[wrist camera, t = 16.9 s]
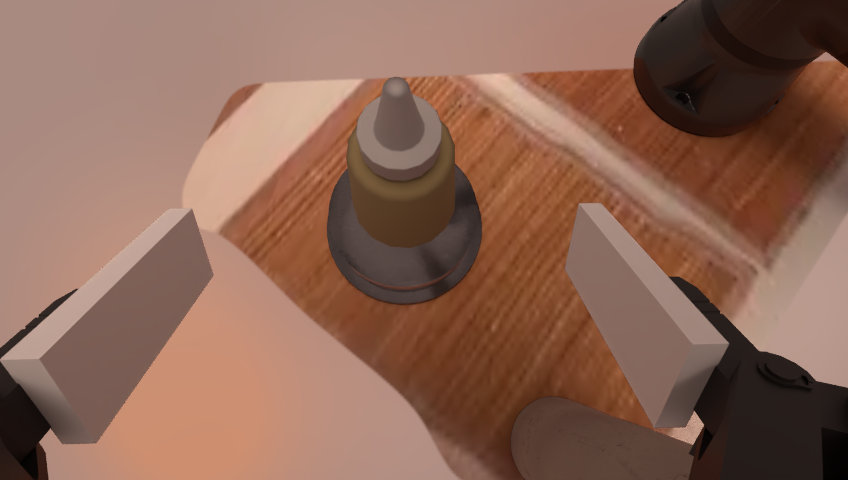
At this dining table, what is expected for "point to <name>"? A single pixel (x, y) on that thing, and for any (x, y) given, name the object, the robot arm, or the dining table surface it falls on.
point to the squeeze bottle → (401, 168)
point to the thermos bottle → (592, 445)
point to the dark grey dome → (404, 250)
